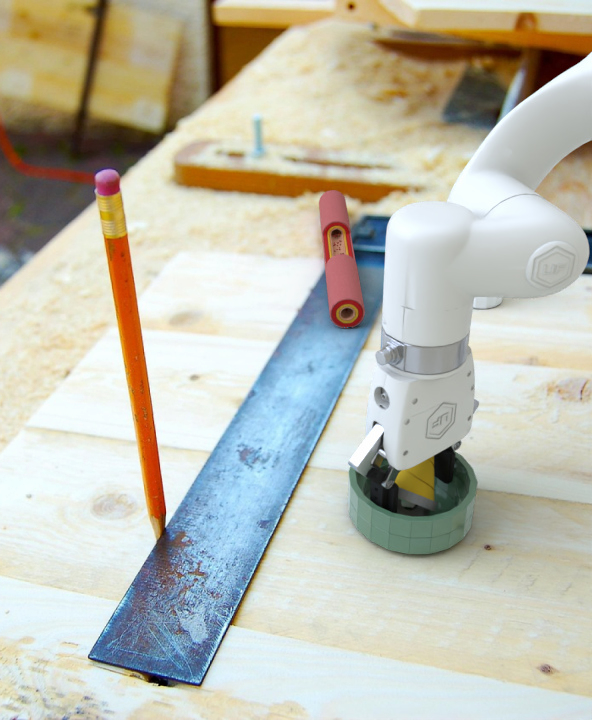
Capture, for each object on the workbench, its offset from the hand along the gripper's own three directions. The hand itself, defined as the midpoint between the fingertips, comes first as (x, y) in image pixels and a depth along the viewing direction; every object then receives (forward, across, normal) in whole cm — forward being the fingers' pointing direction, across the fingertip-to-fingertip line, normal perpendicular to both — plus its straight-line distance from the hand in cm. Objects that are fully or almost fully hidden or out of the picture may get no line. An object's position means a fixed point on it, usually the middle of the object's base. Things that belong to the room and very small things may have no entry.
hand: (411, 490), depth 77 cm
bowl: (+3, 0, 0) cm, 3 cm away
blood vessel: (+3, +32, +49) cm, 58 cm away
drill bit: (+2, 0, 0) cm, 2 cm away
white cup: (+3, +40, +26) cm, 48 cm away
